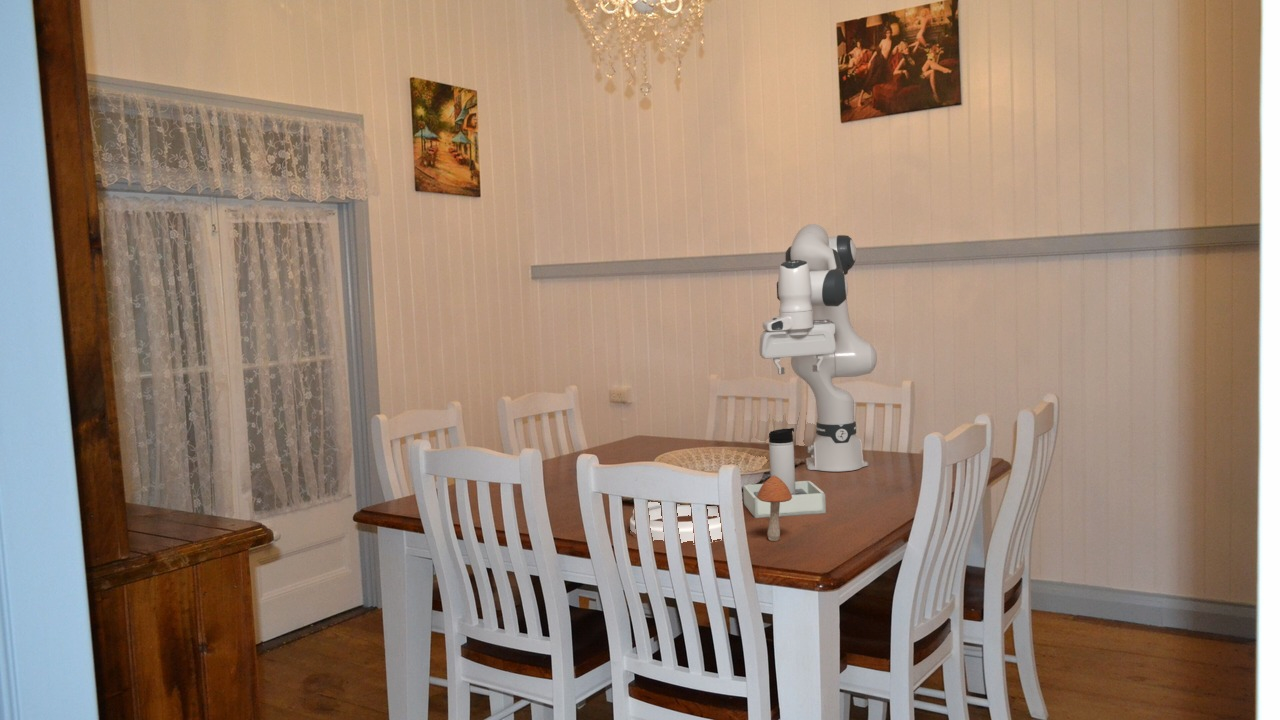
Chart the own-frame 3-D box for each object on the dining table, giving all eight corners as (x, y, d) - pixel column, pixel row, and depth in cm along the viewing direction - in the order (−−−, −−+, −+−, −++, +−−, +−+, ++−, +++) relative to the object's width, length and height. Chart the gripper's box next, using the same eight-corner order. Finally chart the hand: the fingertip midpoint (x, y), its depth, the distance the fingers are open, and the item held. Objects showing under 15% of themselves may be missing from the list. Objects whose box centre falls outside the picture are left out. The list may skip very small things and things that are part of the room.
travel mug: (796, 508, 241) (793, 430, 239) (770, 508, 242) (767, 430, 241) (798, 502, 247) (795, 426, 245) (772, 502, 248) (769, 426, 247)
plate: (615, 526, 237) (614, 504, 237) (713, 511, 246) (712, 491, 246) (654, 552, 212) (652, 528, 212) (761, 535, 221) (760, 512, 221)
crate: (743, 503, 252) (743, 485, 252) (810, 498, 253) (809, 480, 253) (755, 518, 236) (754, 498, 236) (825, 513, 237) (825, 493, 237)
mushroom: (801, 539, 214) (798, 474, 213) (775, 547, 210) (772, 480, 209) (777, 533, 221) (774, 470, 220) (751, 540, 216) (748, 475, 215)
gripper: (831, 318, 256) (833, 368, 258) (756, 323, 255) (759, 374, 256) (837, 319, 250) (839, 371, 251) (761, 325, 248) (763, 377, 250)
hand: (798, 372), depth 254 cm, fingers open, 8 cm apart
